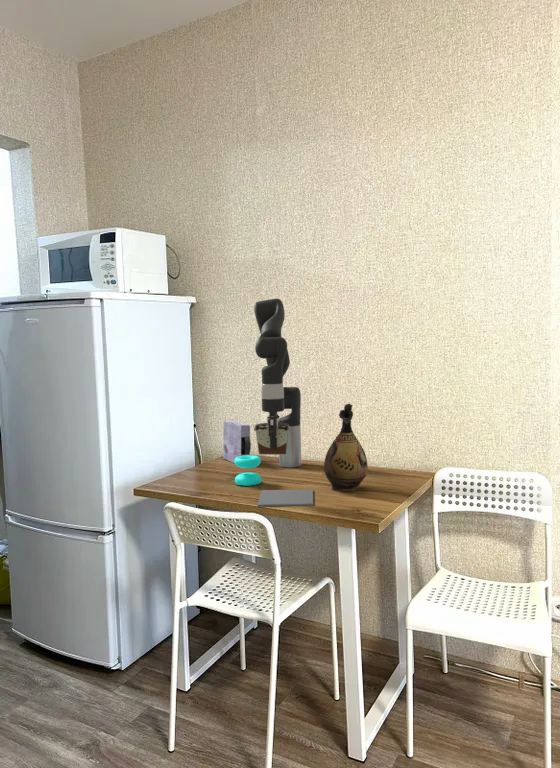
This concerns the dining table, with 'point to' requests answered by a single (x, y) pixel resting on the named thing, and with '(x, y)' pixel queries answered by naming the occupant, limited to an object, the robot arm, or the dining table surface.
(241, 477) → the donuts
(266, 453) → the food container
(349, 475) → the ceramic jug
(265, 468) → the dining table surface
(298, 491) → the mat
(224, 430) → the cake pan box
